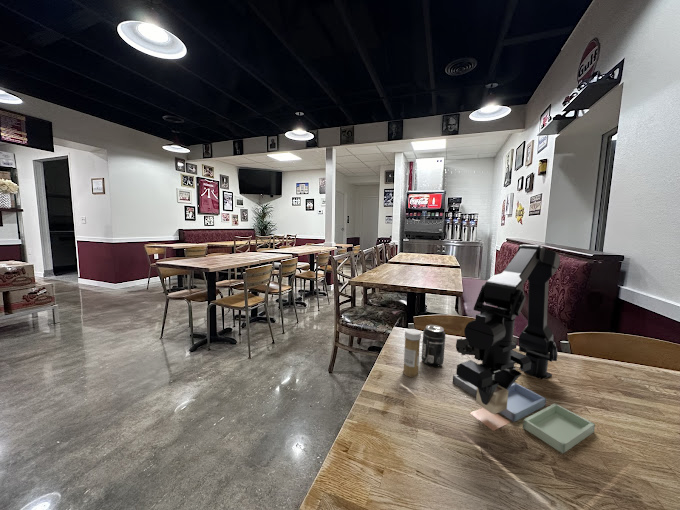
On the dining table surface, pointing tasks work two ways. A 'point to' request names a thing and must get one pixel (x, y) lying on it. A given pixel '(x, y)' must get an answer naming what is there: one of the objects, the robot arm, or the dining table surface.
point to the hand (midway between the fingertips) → (491, 400)
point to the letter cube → (495, 400)
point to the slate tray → (522, 402)
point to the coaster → (489, 418)
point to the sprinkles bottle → (411, 352)
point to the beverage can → (433, 345)
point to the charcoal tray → (466, 385)
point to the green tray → (558, 427)
